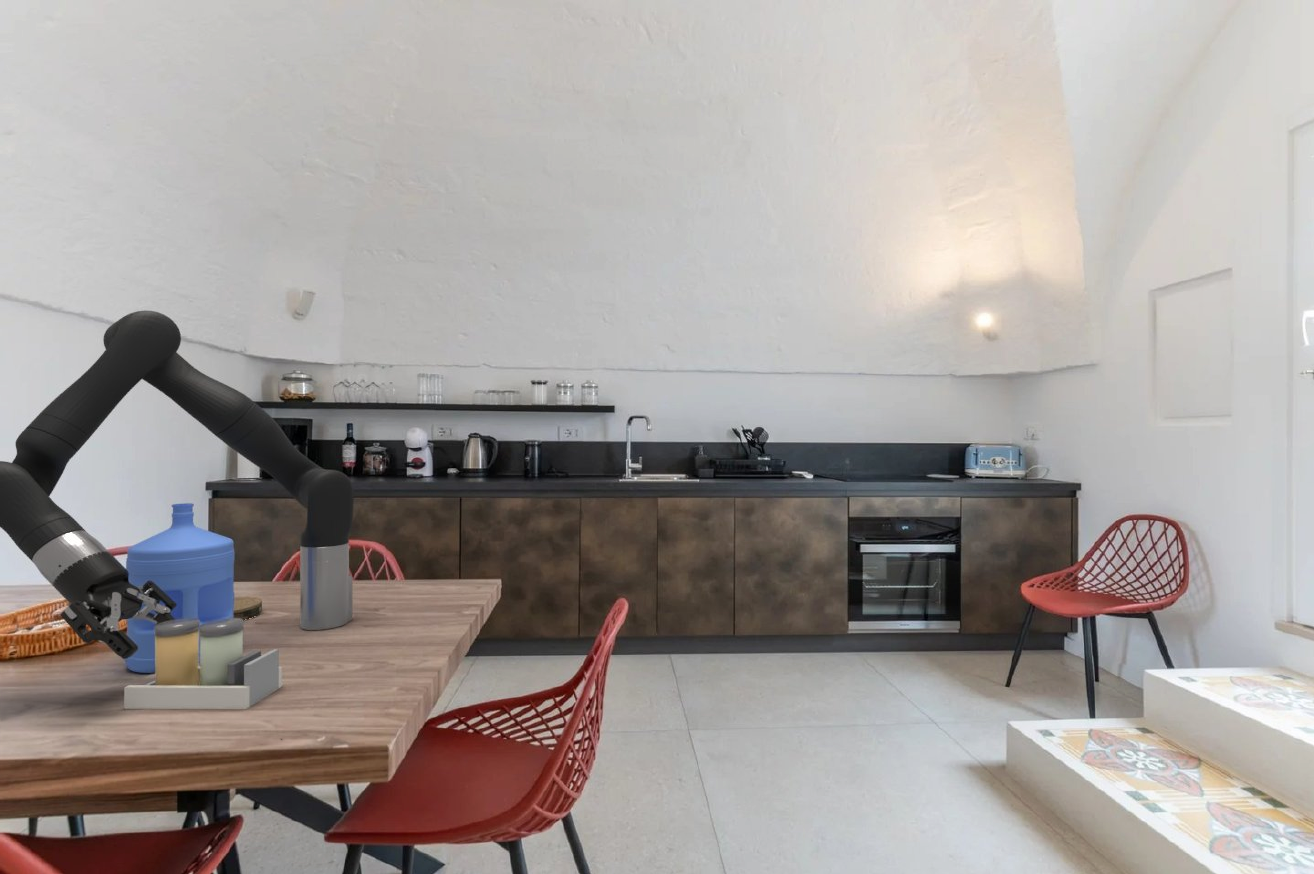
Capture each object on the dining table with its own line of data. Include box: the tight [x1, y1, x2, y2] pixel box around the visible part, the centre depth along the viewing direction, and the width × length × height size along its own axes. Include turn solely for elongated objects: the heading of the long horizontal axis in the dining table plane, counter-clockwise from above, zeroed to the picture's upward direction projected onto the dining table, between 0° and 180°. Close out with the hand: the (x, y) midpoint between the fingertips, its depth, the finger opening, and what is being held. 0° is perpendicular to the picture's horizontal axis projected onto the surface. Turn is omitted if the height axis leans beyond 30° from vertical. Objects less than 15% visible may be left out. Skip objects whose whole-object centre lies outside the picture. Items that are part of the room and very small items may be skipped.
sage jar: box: [199, 618, 245, 686], centre depth 94 cm, size 5×5×11 cm
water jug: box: [124, 502, 236, 674], centre depth 113 cm, size 16×16×28 cm
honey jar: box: [154, 618, 200, 686], centre depth 94 cm, size 5×5×11 cm
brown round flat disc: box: [233, 596, 263, 620], centre depth 140 cm, size 16×16×3 cm
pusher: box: [227, 650, 262, 686], centre depth 94 cm, size 2×6×6 cm, turn 179°
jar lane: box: [123, 648, 283, 710], centre depth 94 cm, size 18×8×7 cm, turn 89°
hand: (156, 644), depth 94 cm, fingers open, 8 cm apart
